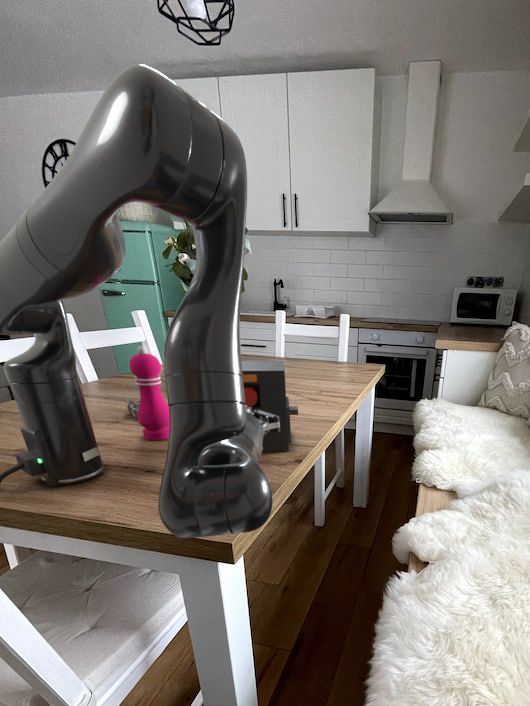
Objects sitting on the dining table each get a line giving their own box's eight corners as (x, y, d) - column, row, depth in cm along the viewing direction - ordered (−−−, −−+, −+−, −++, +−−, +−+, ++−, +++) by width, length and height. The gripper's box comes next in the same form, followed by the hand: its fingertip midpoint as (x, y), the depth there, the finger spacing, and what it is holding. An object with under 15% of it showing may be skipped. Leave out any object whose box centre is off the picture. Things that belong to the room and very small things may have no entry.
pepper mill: (163, 442, 87) (144, 348, 79) (134, 439, 89) (113, 346, 80) (182, 432, 94) (167, 344, 85) (155, 430, 95) (138, 343, 86)
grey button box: (298, 432, 97) (295, 360, 89) (300, 451, 85) (297, 370, 78) (223, 434, 93) (214, 360, 86) (216, 454, 82) (204, 371, 75)
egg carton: (125, 413, 108) (122, 398, 106) (154, 408, 112) (151, 394, 111) (139, 421, 101) (136, 405, 99) (169, 416, 106) (166, 401, 104)
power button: (258, 403, 81) (256, 386, 79) (257, 406, 78) (256, 388, 77) (240, 404, 80) (238, 386, 78) (238, 407, 78) (236, 389, 76)
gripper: (281, 415, 53) (280, 388, 69) (178, 418, 51) (201, 389, 66) (284, 466, 57) (283, 429, 72) (187, 471, 54) (207, 432, 70)
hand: (243, 410), depth 69 cm, fingers closed
